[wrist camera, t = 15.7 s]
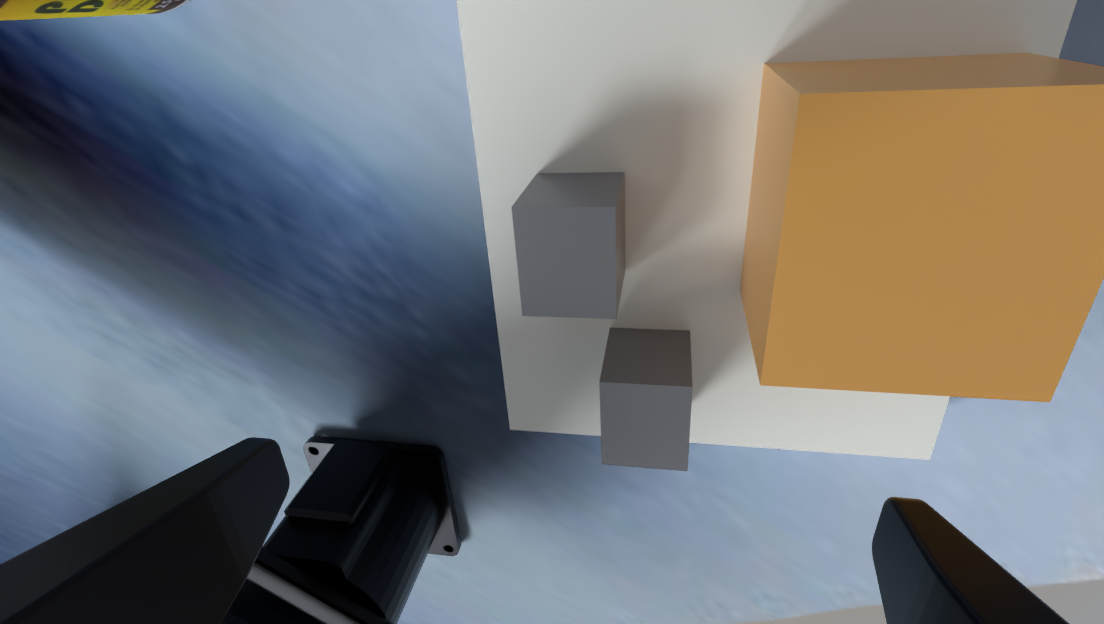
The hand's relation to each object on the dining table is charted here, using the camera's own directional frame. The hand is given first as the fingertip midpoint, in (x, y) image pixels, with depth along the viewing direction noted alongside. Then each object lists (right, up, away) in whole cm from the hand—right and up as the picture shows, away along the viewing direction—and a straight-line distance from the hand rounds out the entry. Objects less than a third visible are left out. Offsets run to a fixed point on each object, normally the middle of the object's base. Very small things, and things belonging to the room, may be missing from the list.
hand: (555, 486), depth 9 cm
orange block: (+8, +6, +7) cm, 12 cm away
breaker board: (+5, +6, +9) cm, 12 cm away
